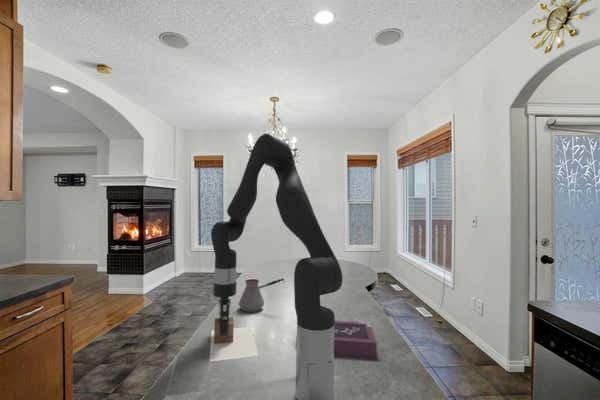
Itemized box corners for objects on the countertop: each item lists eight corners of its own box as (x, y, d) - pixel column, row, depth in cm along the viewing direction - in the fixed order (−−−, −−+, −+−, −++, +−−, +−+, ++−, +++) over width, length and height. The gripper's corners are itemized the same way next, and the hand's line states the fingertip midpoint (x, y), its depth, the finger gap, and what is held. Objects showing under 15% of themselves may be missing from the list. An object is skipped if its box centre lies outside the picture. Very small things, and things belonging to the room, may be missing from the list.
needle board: (258, 361, 84) (259, 327, 84) (209, 367, 80) (210, 331, 80) (250, 330, 105) (251, 303, 105) (211, 334, 101) (212, 306, 101)
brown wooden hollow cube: (233, 342, 92) (233, 323, 93) (213, 344, 91) (214, 325, 91) (232, 334, 98) (232, 316, 98) (214, 336, 96) (214, 318, 97)
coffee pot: (233, 312, 124) (234, 277, 125) (245, 304, 135) (246, 272, 136) (279, 317, 119) (280, 281, 119) (287, 308, 130) (288, 275, 131)
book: (369, 336, 103) (369, 322, 104) (376, 358, 87) (377, 342, 88) (300, 331, 106) (301, 318, 106) (295, 352, 90) (295, 336, 90)
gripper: (237, 285, 90) (236, 338, 89) (235, 275, 103) (234, 321, 103) (213, 286, 87) (211, 340, 87) (214, 276, 101) (212, 323, 100)
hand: (223, 330), depth 95 cm, fingers open, 7 cm apart
